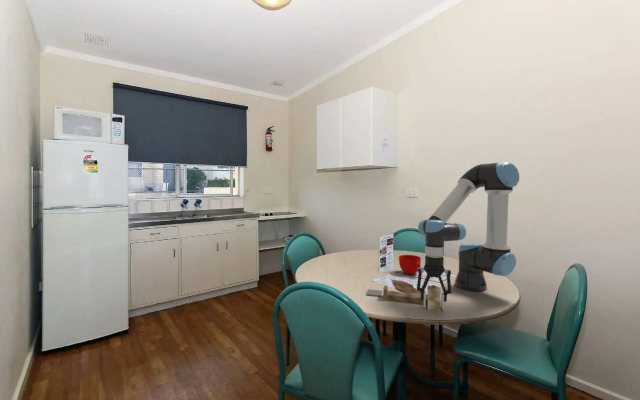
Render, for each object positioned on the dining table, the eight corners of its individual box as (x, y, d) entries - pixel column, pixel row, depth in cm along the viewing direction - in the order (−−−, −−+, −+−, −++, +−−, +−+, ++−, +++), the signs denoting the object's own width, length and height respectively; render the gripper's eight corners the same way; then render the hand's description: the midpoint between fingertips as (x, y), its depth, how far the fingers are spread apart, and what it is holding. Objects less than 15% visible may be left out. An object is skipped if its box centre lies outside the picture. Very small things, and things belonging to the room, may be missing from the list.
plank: (436, 300, 135) (436, 290, 135) (437, 305, 130) (437, 294, 129) (384, 294, 143) (384, 285, 142) (383, 299, 137) (383, 289, 137)
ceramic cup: (409, 279, 166) (410, 262, 166) (394, 271, 183) (394, 255, 182) (429, 277, 170) (429, 260, 169) (412, 269, 186) (412, 254, 186)
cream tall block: (439, 306, 129) (439, 285, 128) (440, 311, 124) (440, 289, 123) (427, 305, 130) (427, 284, 130) (427, 309, 125) (428, 287, 125)
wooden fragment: (426, 295, 142) (426, 293, 142) (405, 297, 140) (405, 295, 140) (402, 279, 167) (402, 277, 167) (384, 280, 165) (384, 278, 165)
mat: (382, 291, 147) (382, 290, 147) (380, 296, 140) (380, 295, 140) (368, 290, 149) (368, 289, 149) (366, 295, 142) (366, 294, 142)
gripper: (457, 255, 127) (456, 306, 128) (410, 252, 132) (410, 301, 133) (460, 259, 119) (459, 313, 120) (410, 256, 125) (410, 308, 126)
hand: (433, 307), depth 127 cm, fingers open, 7 cm apart
